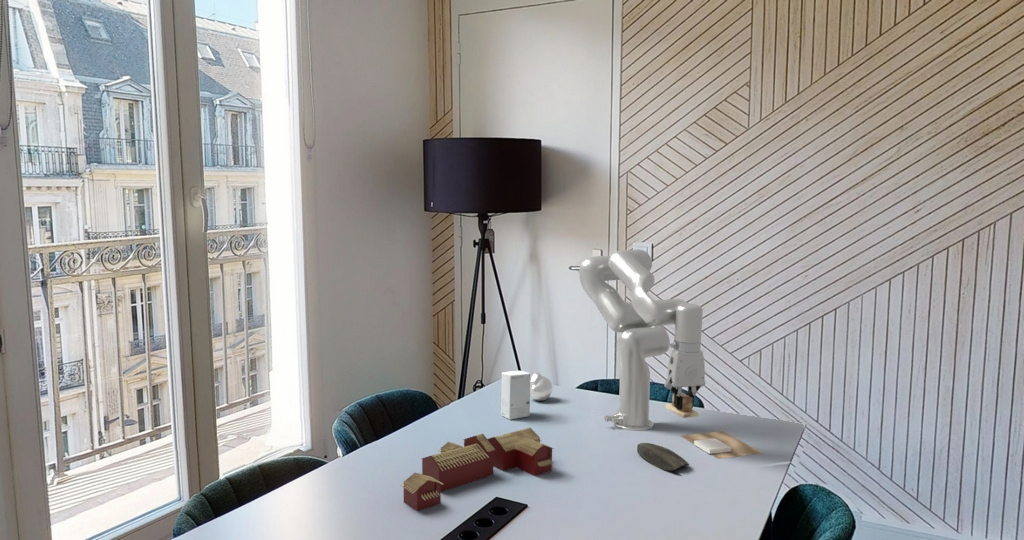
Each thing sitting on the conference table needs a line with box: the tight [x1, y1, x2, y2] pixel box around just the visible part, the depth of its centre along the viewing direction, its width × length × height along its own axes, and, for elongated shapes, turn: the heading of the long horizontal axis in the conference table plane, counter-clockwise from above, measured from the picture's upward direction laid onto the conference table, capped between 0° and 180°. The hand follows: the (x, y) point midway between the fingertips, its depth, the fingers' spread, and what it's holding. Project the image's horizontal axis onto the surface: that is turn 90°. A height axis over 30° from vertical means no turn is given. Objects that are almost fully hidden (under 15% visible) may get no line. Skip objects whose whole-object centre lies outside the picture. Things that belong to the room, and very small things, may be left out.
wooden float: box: [665, 391, 700, 419], centre depth 209 cm, size 5×10×5 cm, turn 18°
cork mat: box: [680, 430, 763, 460], centre depth 210 cm, size 15×20×1 cm
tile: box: [693, 438, 731, 455], centre depth 206 cm, size 7×1×8 cm
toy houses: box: [400, 427, 555, 512], centre depth 184 cm, size 45×20×10 cm, turn 129°
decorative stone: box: [636, 442, 690, 472], centre depth 196 cm, size 17×6×4 cm, turn 32°
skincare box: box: [500, 370, 531, 421], centre depth 237 cm, size 8×6×15 cm
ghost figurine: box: [530, 372, 554, 402], centre depth 256 cm, size 9×10×10 cm
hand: (683, 407), depth 208 cm, fingers closed on wooden float, 3 cm apart
